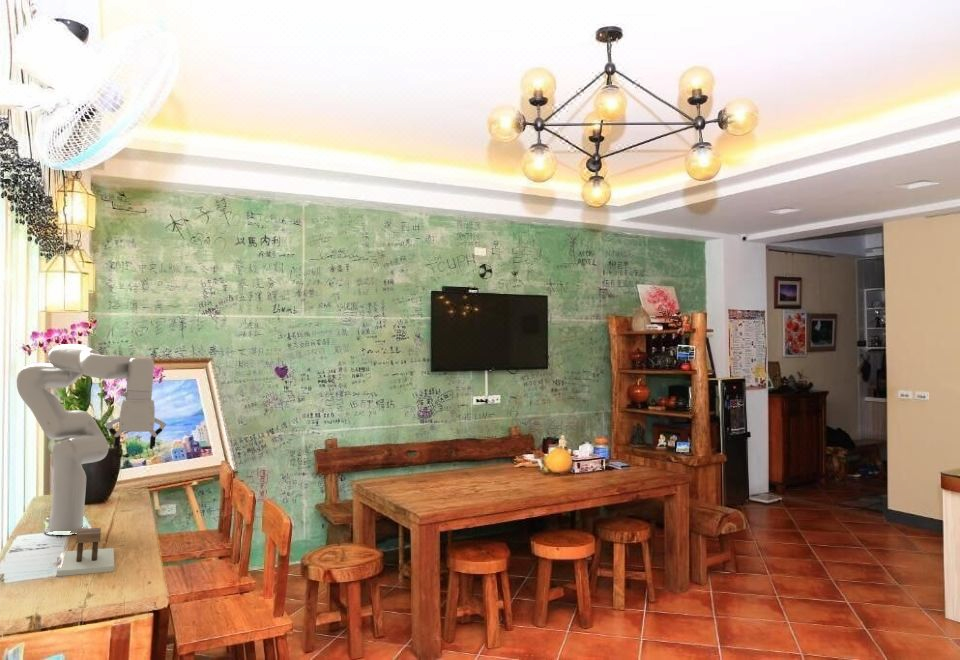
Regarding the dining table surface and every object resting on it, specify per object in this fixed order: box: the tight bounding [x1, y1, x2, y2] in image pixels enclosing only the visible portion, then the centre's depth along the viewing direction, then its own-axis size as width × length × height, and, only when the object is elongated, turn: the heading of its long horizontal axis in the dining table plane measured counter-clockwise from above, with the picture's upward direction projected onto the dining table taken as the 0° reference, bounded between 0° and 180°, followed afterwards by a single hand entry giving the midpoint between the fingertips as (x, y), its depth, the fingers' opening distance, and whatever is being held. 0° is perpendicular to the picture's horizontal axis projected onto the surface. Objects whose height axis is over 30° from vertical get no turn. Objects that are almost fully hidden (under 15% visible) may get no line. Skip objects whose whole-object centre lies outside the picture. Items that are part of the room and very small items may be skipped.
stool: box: [75, 527, 102, 562], centre depth 199 cm, size 6×6×8 cm
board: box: [56, 547, 115, 577], centre depth 199 cm, size 18×14×2 cm
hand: (134, 448), depth 222 cm, fingers open, 9 cm apart
